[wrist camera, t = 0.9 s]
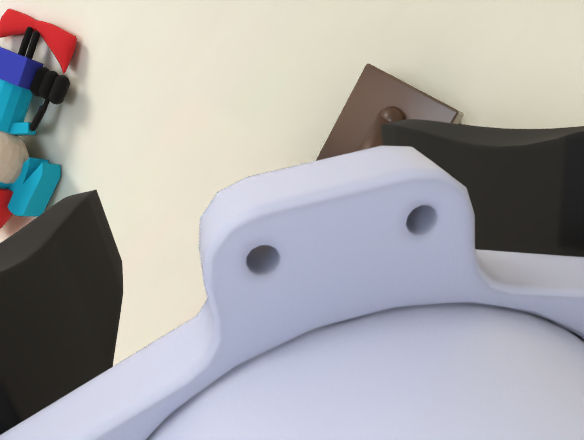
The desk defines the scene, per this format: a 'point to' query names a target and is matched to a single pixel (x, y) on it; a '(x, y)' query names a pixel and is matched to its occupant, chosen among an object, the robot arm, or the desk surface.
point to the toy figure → (13, 108)
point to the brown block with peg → (380, 112)
